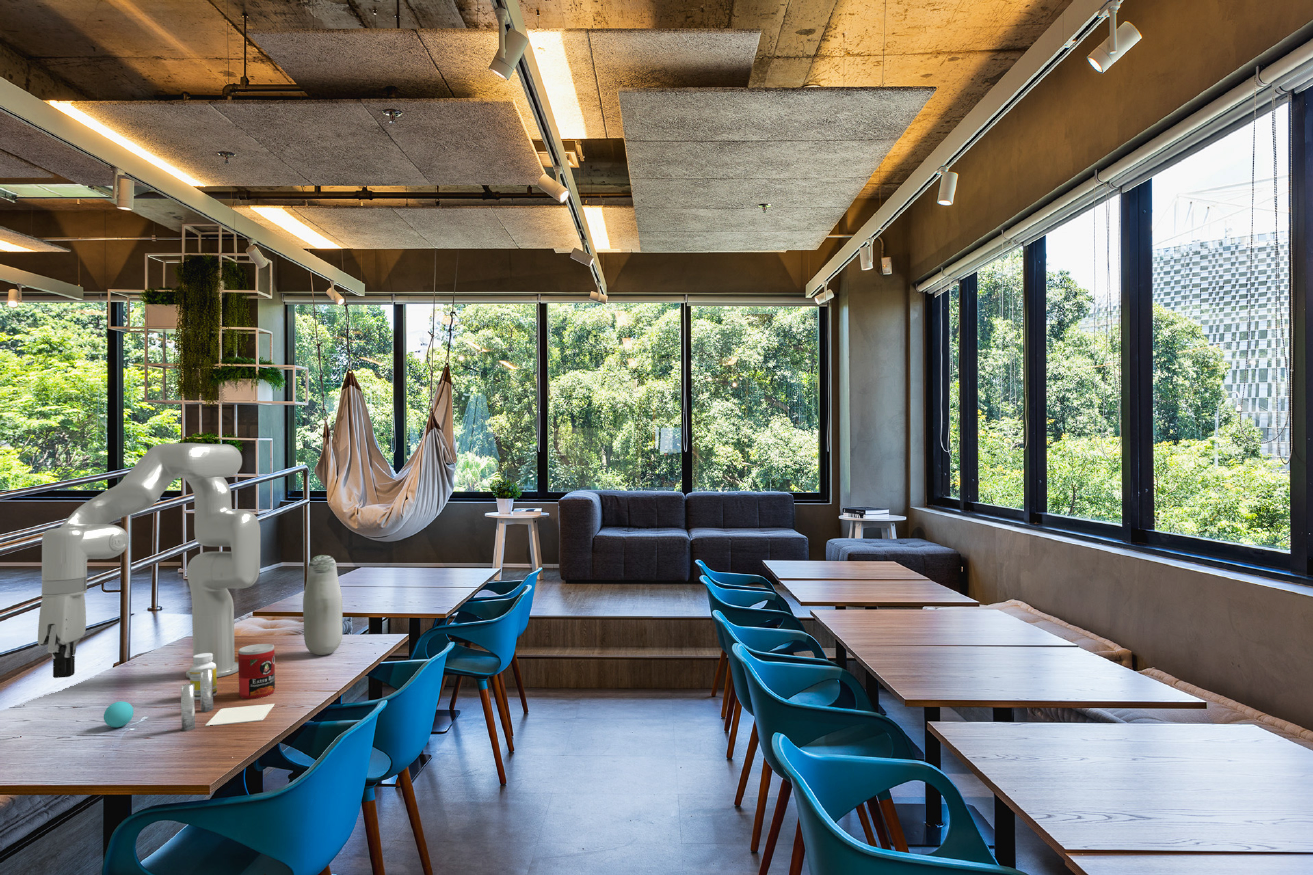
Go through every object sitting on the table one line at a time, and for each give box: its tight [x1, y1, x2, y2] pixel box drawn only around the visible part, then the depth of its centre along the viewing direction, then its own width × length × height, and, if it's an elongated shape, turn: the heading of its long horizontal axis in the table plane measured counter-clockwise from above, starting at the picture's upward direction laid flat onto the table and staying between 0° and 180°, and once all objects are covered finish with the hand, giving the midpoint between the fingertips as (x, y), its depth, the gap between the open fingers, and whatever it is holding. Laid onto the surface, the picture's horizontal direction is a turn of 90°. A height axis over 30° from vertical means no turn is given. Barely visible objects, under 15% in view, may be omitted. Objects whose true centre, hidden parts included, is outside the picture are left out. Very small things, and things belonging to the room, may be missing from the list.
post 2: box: [200, 668, 214, 713], centre depth 174 cm, size 2×2×9 cm
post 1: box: [180, 683, 196, 732], centre depth 162 cm, size 2×2×9 cm
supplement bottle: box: [189, 653, 218, 701], centre depth 184 cm, size 5×5×10 cm
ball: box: [103, 700, 135, 728], centre depth 164 cm, size 5×5×5 cm
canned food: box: [237, 643, 276, 700], centre depth 185 cm, size 8×8×11 cm
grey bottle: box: [302, 554, 343, 656], centre depth 221 cm, size 10×10×28 cm
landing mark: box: [205, 703, 275, 727], centre depth 170 cm, size 11×11×1 cm
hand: (63, 676), depth 161 cm, fingers closed
